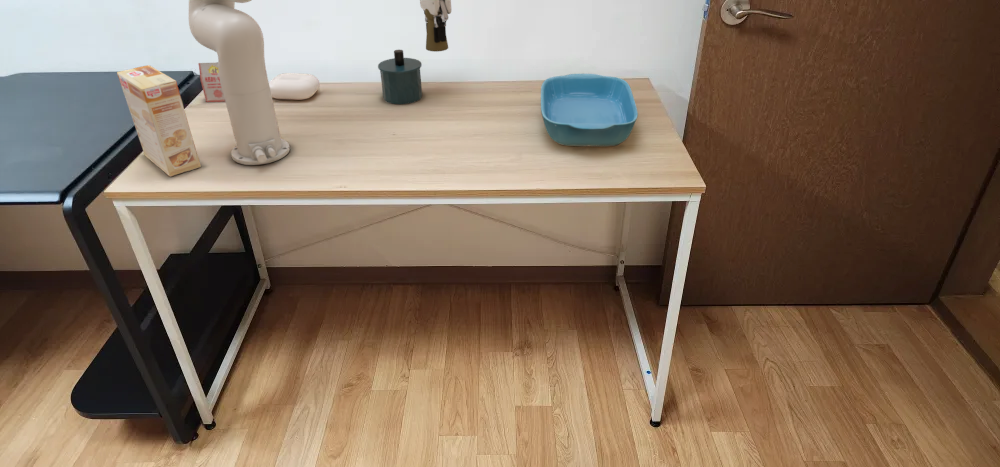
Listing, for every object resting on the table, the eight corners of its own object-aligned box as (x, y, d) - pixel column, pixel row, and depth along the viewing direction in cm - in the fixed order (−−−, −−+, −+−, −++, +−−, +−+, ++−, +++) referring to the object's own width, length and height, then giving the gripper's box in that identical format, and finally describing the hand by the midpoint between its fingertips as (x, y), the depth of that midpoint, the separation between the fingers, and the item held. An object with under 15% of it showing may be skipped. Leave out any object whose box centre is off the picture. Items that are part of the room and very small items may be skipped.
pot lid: (428, 71, 168) (427, 53, 165) (387, 78, 163) (385, 60, 161) (411, 59, 176) (410, 42, 174) (372, 66, 172) (370, 48, 169)
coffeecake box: (202, 167, 140) (177, 80, 129) (169, 177, 136) (140, 89, 125) (175, 146, 149) (150, 63, 138) (143, 155, 145) (114, 71, 134)
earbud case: (279, 88, 180) (275, 69, 177) (324, 89, 179) (321, 70, 176) (264, 102, 172) (260, 82, 169) (311, 103, 171) (308, 83, 168)
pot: (428, 99, 172) (426, 68, 168) (391, 107, 168) (388, 75, 163) (413, 87, 180) (410, 57, 175) (377, 94, 176) (374, 64, 171)
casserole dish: (540, 96, 174) (541, 70, 170) (623, 97, 173) (626, 71, 169) (539, 156, 143) (540, 126, 139) (640, 158, 142) (644, 128, 138)
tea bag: (210, 96, 175) (200, 60, 170) (235, 96, 176) (226, 60, 170) (206, 102, 172) (196, 65, 167) (232, 101, 173) (223, 64, 167)
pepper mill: (421, 49, 171) (418, 7, 165) (433, 43, 176) (431, 1, 170) (440, 52, 169) (438, 9, 163) (452, 46, 173) (450, 4, 167)
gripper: (460, -30, 156) (463, 45, 166) (431, -41, 169) (436, 30, 179) (432, -27, 153) (436, 50, 163) (405, -38, 166) (411, 34, 176)
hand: (436, 38), depth 171 cm, fingers closed on pepper mill, 4 cm apart
